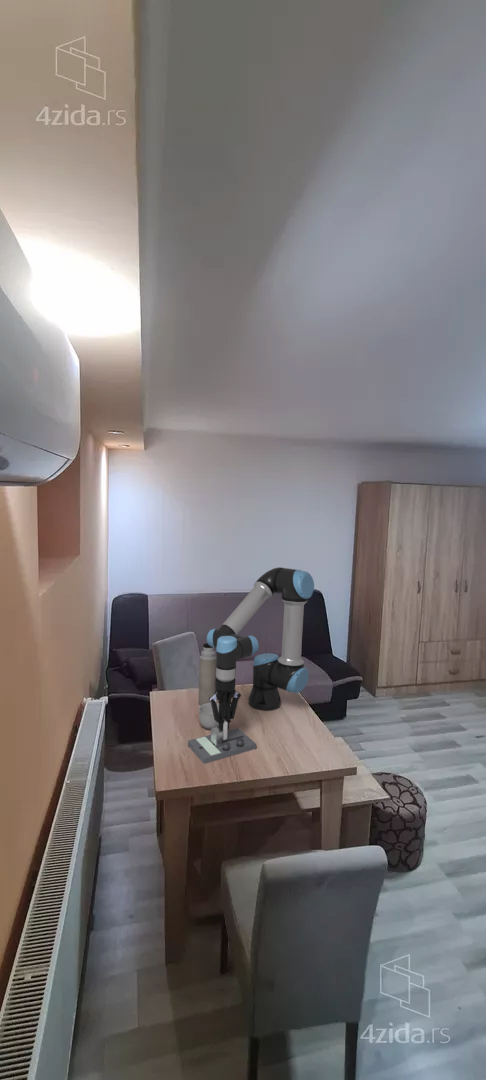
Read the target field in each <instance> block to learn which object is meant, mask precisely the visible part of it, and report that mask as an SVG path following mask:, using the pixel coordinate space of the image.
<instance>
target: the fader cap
mask: <svg viewBox="0 0 486 1080" xmlns="http://www.w3.org/2000/svg"><path fill="white" fill-rule="evenodd" d="M210 735H211V742H212V743H213V744H214V745H215V746H220V745H222V731H221V730H220V729H219V728H217V727H215V728H211V729H210Z"/></svg>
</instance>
